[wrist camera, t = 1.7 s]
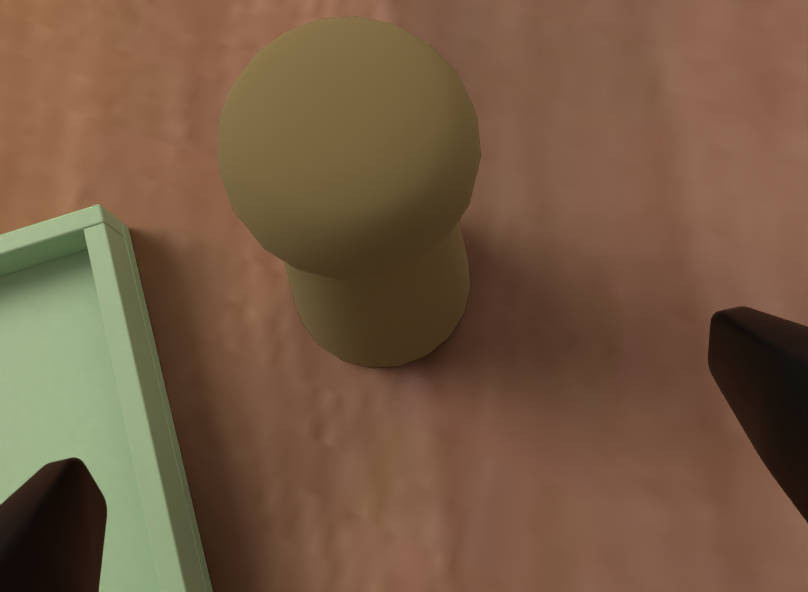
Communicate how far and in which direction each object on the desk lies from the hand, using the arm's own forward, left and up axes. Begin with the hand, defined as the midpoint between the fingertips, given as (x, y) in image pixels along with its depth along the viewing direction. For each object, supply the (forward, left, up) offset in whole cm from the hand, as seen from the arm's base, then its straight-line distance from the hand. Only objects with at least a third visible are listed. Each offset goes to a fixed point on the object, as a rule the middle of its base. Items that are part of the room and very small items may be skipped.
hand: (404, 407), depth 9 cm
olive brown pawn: (+5, -1, -12) cm, 13 cm away
